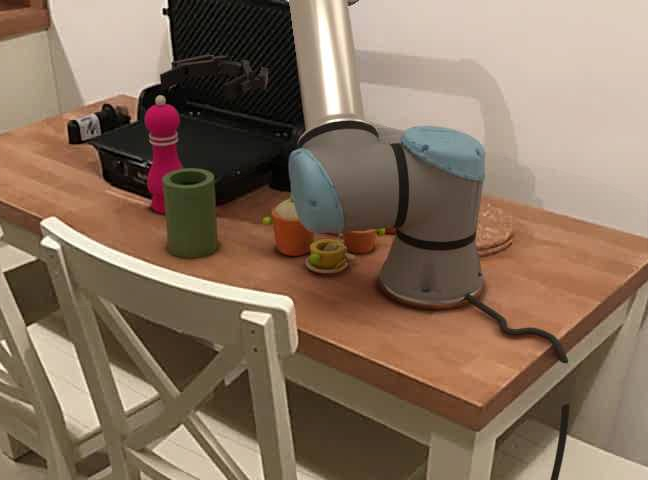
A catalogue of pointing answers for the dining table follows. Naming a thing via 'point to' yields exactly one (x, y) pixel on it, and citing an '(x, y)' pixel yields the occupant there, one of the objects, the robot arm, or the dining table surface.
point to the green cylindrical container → (190, 212)
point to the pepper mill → (162, 147)
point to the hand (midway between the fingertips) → (193, 87)
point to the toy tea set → (323, 252)
